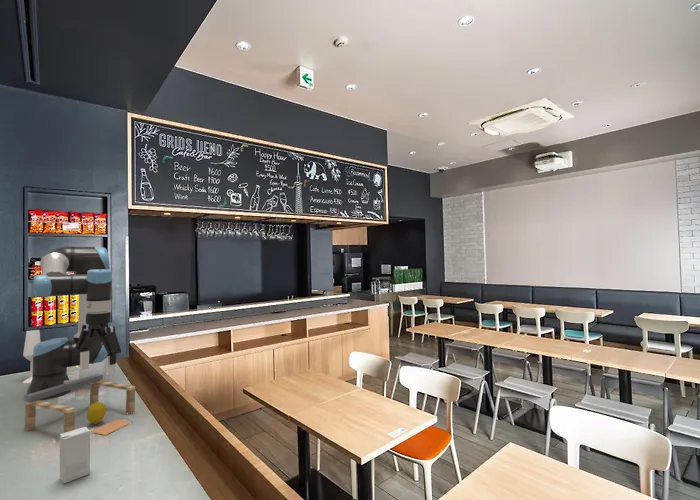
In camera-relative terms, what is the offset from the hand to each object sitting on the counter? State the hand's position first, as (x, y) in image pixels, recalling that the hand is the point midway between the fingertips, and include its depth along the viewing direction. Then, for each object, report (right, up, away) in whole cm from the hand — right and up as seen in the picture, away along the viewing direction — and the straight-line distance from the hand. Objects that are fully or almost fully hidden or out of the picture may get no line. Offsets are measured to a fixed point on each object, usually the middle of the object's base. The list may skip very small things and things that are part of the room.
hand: (97, 371), depth 131 cm
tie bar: (-15, -8, +5) cm, 18 cm away
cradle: (-7, -19, +2) cm, 20 cm away
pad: (+7, -19, -3) cm, 20 cm away
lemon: (0, -19, -1) cm, 19 cm away
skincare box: (+16, -18, -32) cm, 40 cm away
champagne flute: (-63, -20, +45) cm, 80 cm away
